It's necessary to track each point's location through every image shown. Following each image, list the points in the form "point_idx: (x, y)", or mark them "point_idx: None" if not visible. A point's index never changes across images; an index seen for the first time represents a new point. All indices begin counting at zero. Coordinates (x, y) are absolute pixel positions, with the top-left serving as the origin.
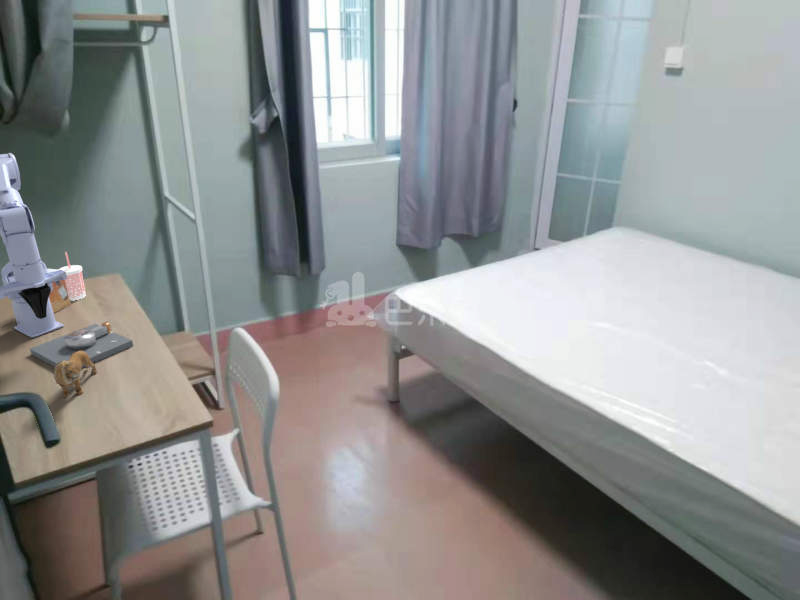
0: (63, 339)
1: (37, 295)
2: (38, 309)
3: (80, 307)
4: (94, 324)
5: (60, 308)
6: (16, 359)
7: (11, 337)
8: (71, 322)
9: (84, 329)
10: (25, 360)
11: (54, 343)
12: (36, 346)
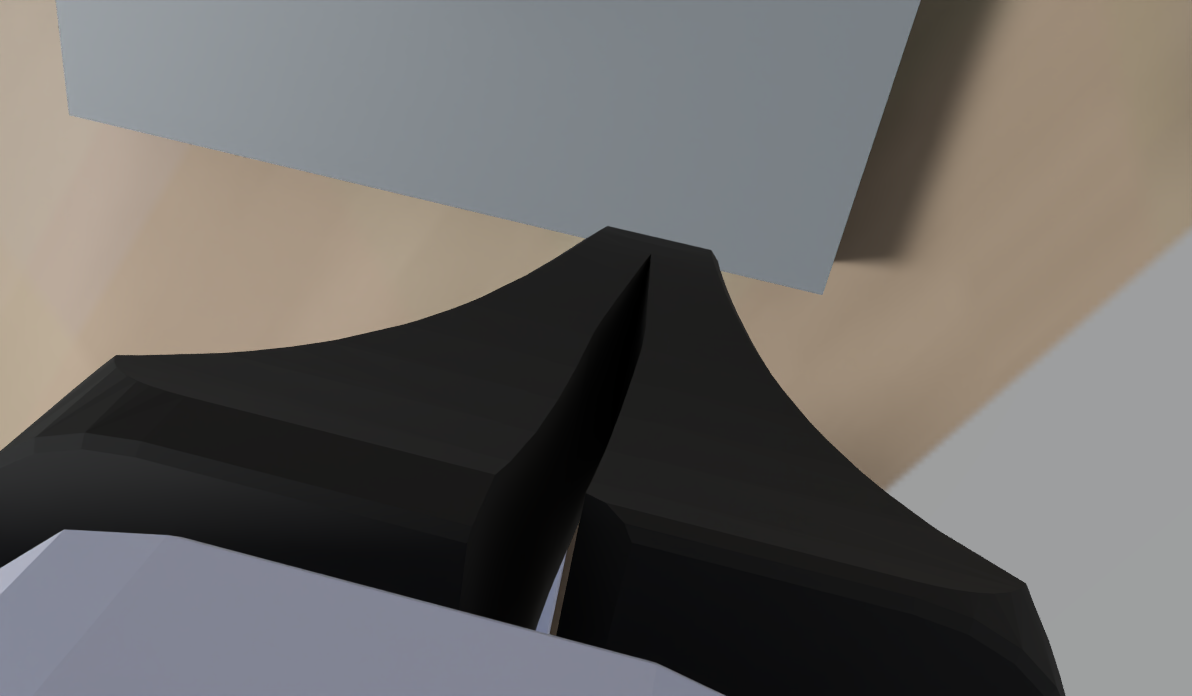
0: (499, 125)
1: (668, 497)
2: (714, 328)
3: None
4: (84, 108)
5: None
6: (962, 313)
7: None
8: None
9: (218, 110)
10: (955, 208)
11: (614, 141)
12: (752, 272)
